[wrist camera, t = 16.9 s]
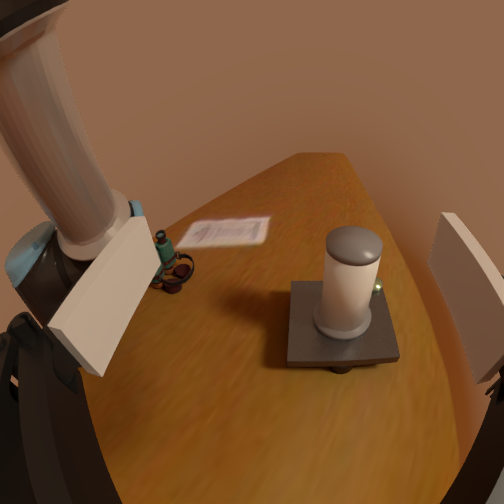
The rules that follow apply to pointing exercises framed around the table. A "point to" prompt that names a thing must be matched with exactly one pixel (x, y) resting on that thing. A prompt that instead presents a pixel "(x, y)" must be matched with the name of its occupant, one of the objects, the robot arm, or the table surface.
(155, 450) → the table surface
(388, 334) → the stand
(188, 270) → the binoculars
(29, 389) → the robot arm
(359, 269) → the white flanged cylinder
